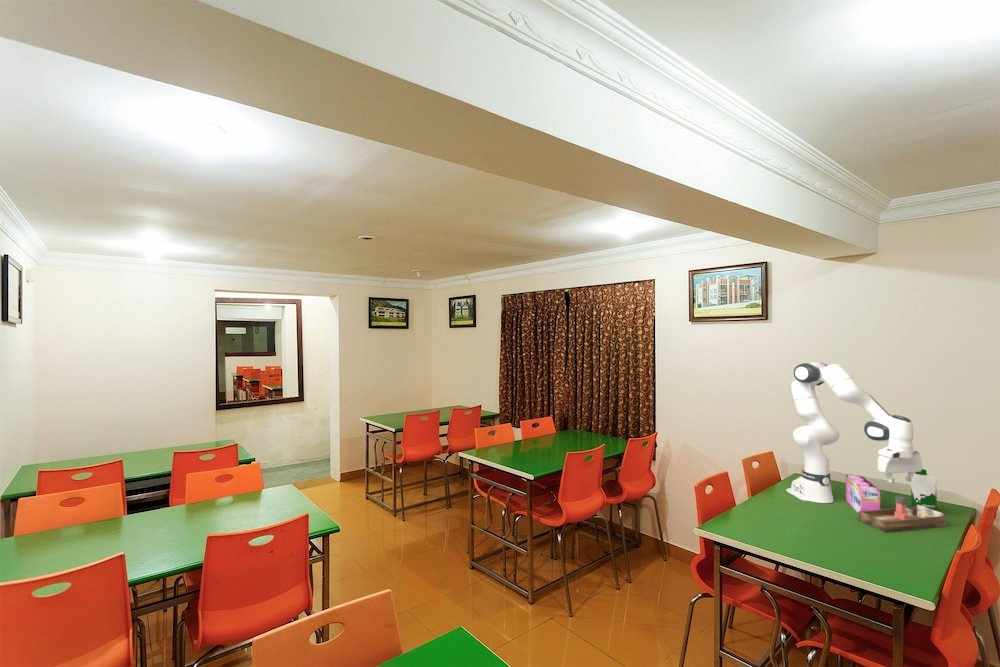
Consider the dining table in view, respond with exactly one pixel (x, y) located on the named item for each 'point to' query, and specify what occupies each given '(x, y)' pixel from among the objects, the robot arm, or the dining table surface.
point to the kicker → (901, 508)
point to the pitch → (889, 523)
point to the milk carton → (924, 490)
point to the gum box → (862, 494)
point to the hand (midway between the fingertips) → (899, 481)
